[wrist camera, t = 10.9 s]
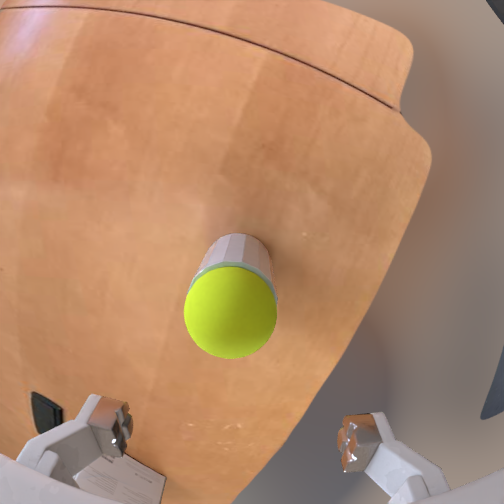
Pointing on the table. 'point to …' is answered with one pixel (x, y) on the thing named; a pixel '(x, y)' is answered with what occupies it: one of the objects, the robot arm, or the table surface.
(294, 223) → the table surface
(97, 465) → the hard drive box
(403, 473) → the robot arm
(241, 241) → the cup
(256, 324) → the tennis ball
